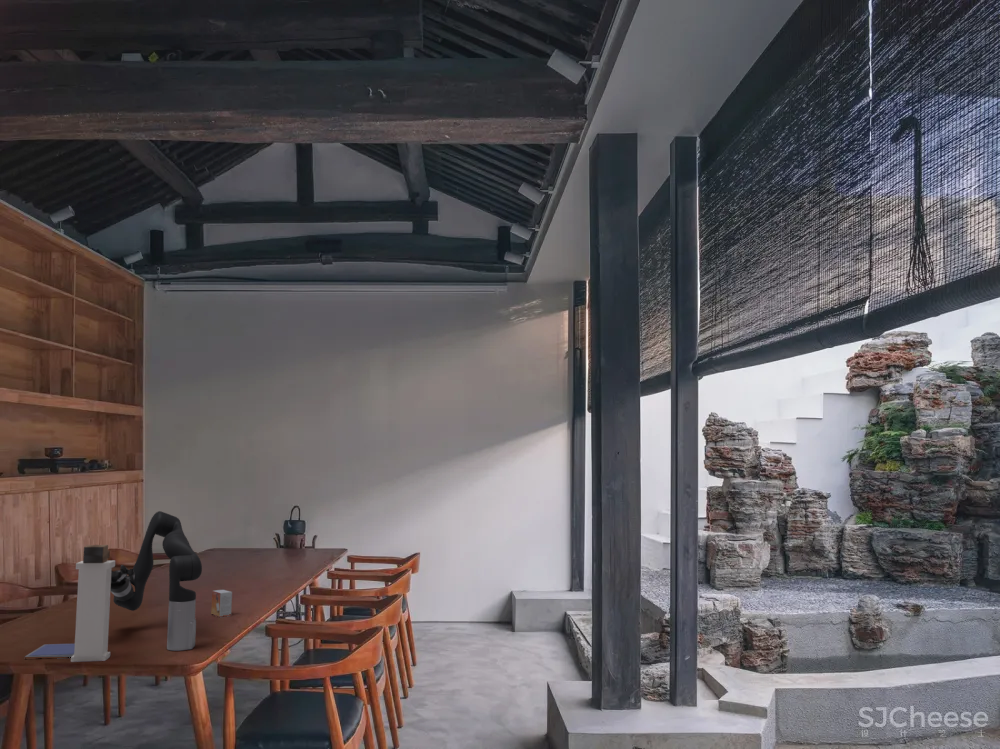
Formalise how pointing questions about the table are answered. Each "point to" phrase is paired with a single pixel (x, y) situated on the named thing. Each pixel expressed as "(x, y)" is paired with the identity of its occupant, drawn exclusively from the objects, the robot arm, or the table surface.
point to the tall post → (92, 611)
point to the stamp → (96, 554)
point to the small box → (221, 602)
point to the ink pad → (53, 651)
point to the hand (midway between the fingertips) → (109, 567)
